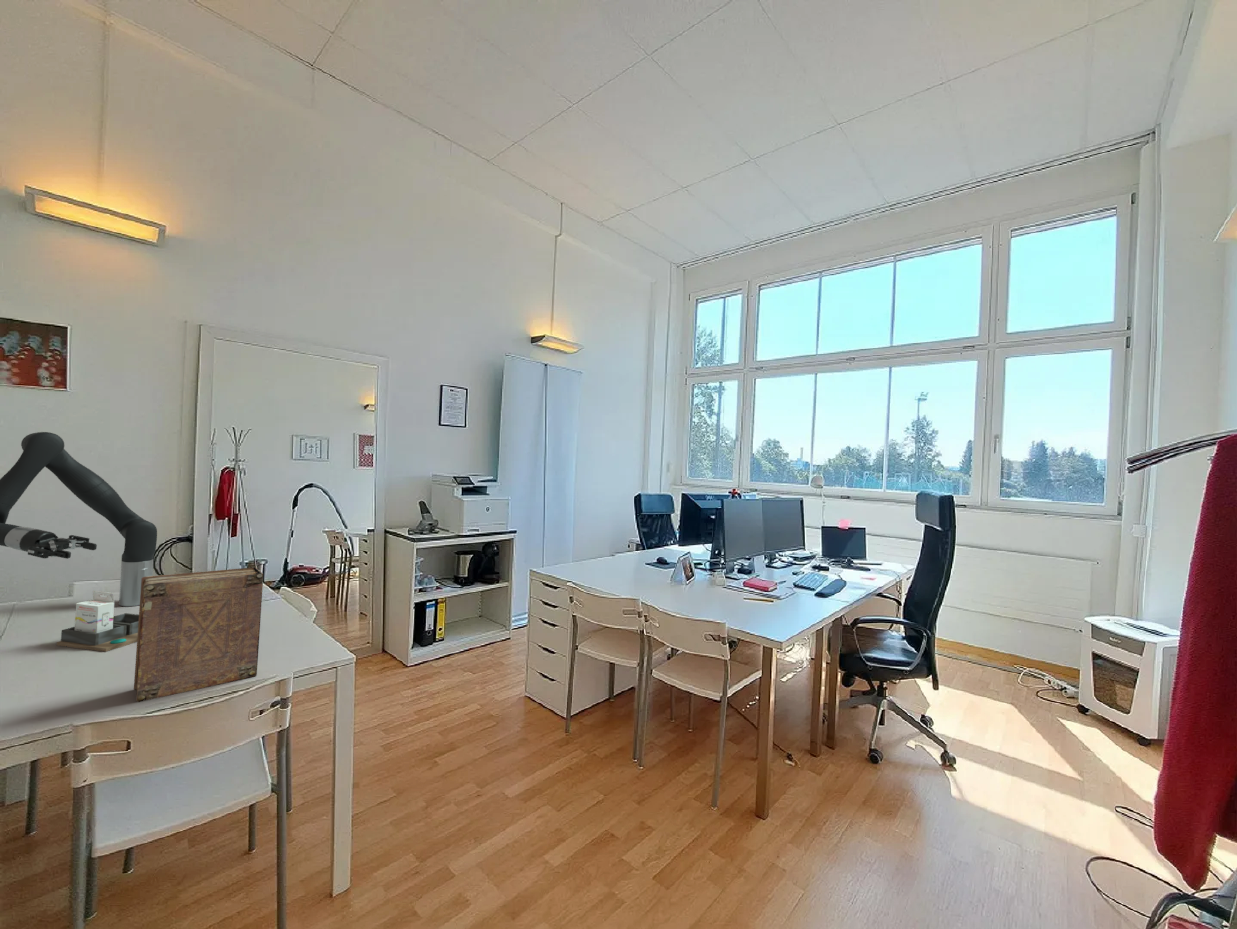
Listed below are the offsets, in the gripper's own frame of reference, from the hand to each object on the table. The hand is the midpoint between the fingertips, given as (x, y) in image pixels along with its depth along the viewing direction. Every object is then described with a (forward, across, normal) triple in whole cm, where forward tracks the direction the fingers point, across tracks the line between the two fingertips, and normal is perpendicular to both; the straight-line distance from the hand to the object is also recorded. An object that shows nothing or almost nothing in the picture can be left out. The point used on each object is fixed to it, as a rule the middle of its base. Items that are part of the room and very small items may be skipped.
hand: (83, 551), depth 166 cm
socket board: (+20, -7, +23) cm, 31 cm away
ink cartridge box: (+16, -11, +22) cm, 30 cm away
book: (+66, -36, +11) cm, 76 cm away
